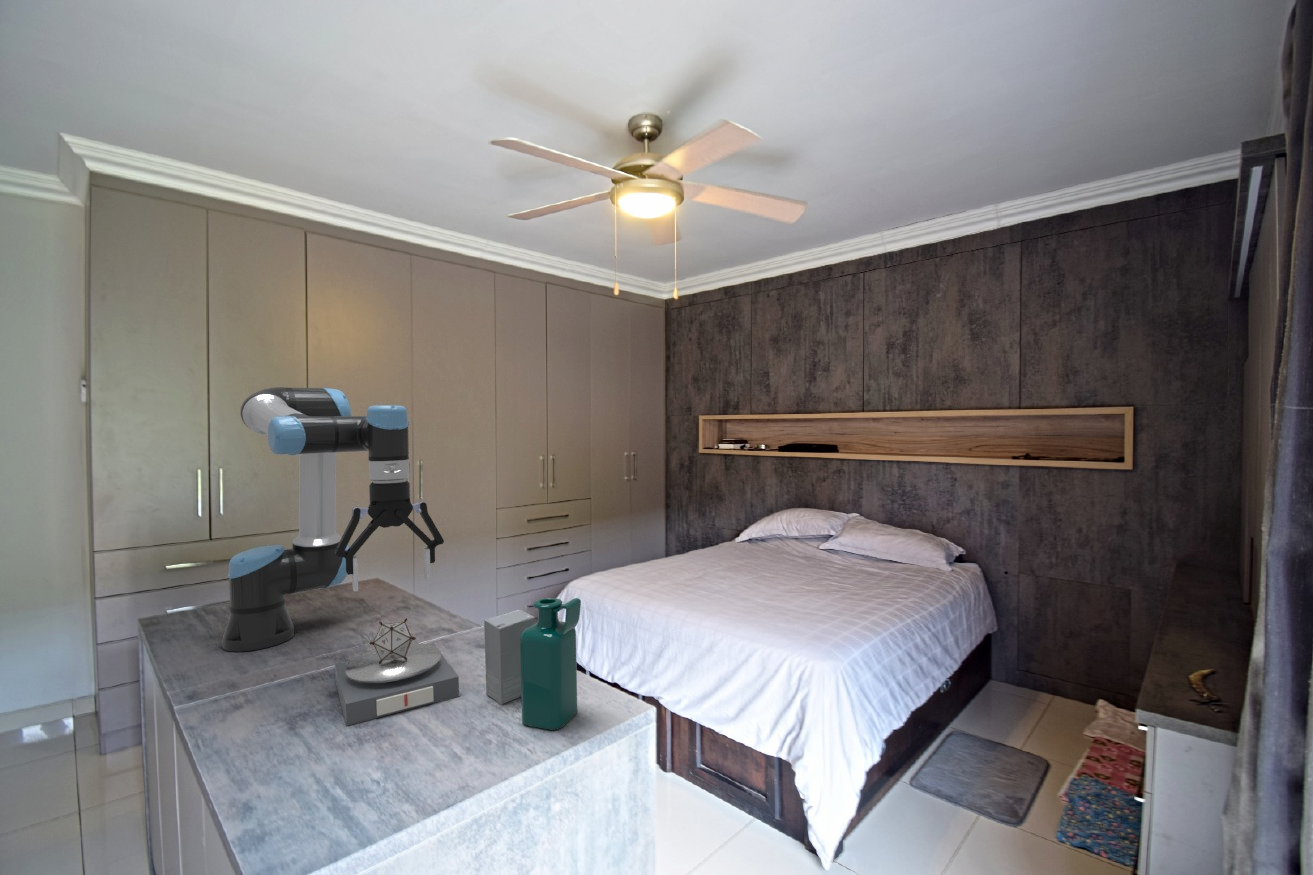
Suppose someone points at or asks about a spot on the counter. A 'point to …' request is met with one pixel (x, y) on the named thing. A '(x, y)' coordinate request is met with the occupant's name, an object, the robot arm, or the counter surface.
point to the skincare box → (504, 654)
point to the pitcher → (549, 665)
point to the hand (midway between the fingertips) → (392, 584)
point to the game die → (392, 641)
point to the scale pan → (393, 665)
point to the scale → (394, 692)
